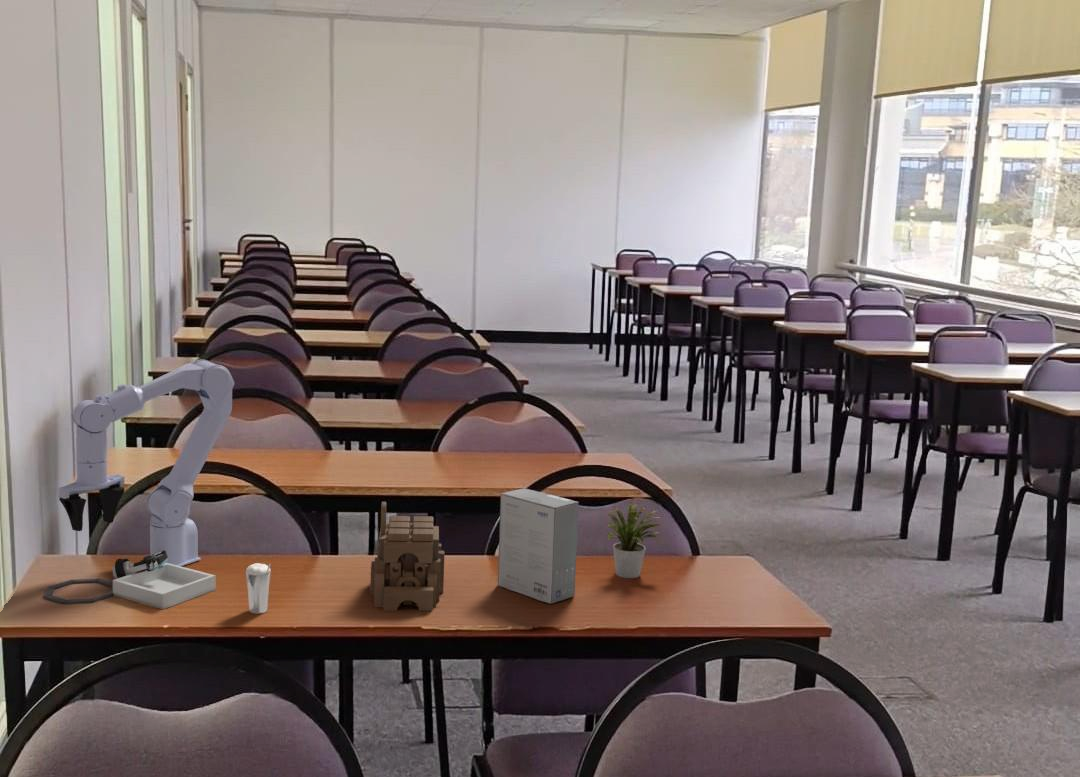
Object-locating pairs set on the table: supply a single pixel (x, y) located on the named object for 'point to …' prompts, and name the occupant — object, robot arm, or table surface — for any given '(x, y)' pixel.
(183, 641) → the table surface
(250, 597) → the milkshake
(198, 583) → the tray
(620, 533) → the house plant
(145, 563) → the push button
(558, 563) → the hard drive box
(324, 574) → the table surface
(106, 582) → the seat ring
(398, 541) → the wooden puzzle
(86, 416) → the robot arm
